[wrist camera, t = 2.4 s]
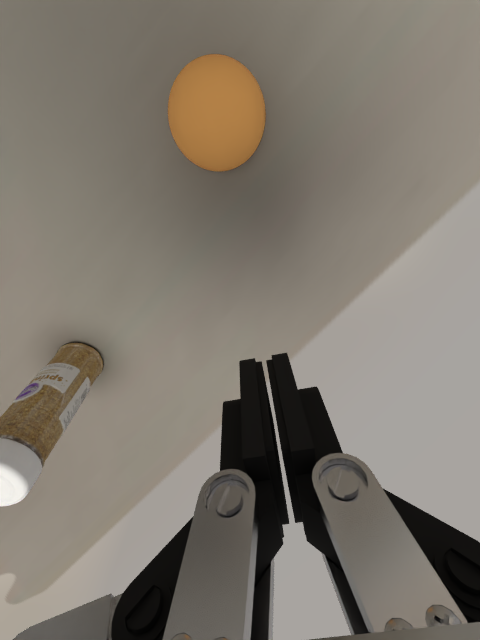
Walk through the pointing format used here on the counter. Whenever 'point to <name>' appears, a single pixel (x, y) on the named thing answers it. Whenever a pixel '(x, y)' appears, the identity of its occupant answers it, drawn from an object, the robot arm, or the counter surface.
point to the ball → (216, 112)
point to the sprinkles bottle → (43, 417)
